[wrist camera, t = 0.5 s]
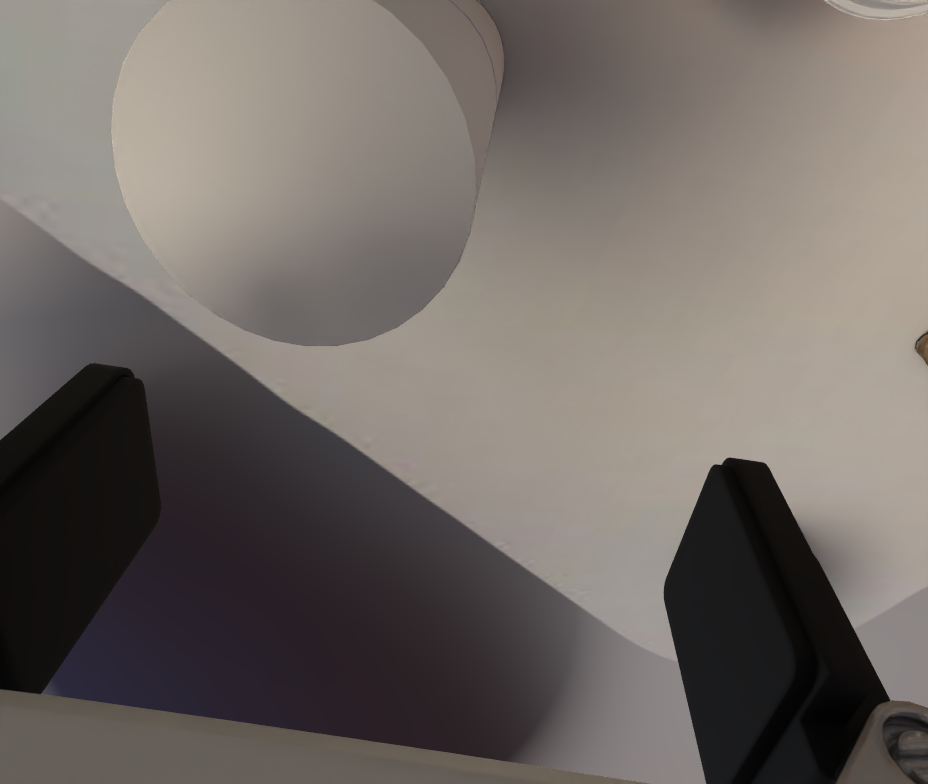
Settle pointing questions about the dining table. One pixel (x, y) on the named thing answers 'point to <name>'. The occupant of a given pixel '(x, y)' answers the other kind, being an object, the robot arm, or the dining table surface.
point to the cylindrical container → (308, 155)
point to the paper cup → (881, 8)
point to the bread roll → (923, 347)
